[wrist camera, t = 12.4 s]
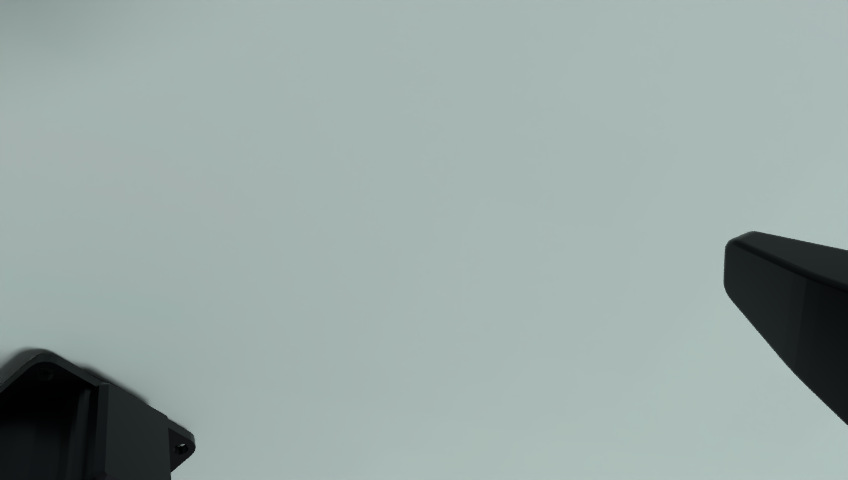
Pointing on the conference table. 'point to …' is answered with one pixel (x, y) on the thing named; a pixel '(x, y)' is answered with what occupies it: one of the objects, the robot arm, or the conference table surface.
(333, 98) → the conference table surface
